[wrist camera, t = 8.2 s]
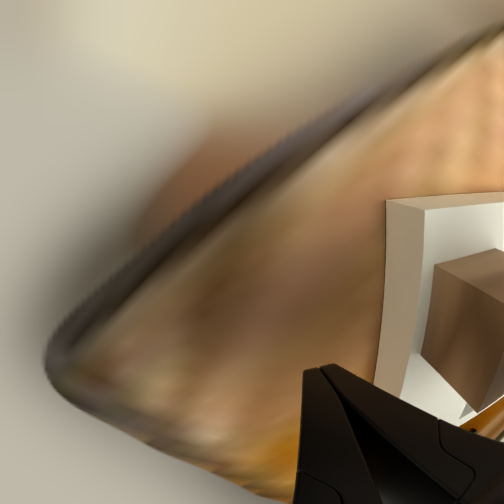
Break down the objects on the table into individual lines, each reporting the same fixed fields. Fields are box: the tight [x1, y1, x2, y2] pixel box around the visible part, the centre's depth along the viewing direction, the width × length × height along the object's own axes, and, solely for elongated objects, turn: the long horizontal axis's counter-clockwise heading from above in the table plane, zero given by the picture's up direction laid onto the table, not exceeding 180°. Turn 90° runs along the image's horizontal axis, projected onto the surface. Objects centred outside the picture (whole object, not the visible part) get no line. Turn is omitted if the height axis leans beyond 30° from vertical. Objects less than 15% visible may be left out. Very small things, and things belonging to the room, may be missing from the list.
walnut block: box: [420, 248, 504, 413], centre depth 8 cm, size 4×4×4 cm
